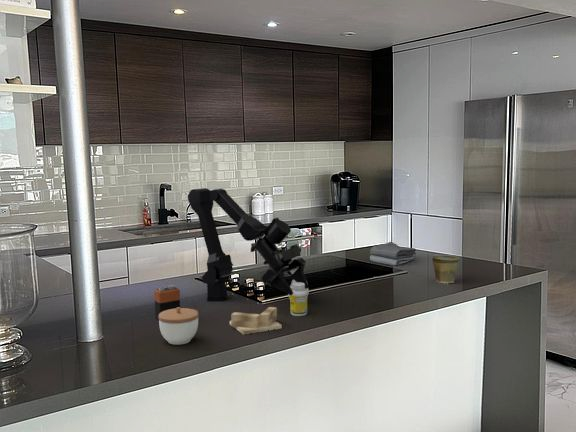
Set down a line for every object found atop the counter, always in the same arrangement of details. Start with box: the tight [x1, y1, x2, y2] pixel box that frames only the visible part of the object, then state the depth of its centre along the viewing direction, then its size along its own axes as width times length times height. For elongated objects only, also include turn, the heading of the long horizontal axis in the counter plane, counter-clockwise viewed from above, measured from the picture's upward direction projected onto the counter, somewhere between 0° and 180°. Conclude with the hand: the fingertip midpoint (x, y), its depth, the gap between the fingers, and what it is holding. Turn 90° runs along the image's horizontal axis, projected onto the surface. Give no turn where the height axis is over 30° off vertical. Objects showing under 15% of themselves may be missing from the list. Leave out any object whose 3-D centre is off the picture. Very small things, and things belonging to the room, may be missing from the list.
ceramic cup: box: [432, 254, 460, 285], centre depth 217 cm, size 13×10×10 cm
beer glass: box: [287, 279, 310, 300], centre depth 194 cm, size 7×7×15 cm
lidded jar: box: [158, 306, 199, 346], centre depth 152 cm, size 11×11×9 cm
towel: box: [369, 241, 417, 266], centre depth 257 cm, size 15×18×8 cm
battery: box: [154, 284, 181, 320], centre depth 173 cm, size 4×7×10 cm, turn 128°
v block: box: [229, 306, 283, 336], centre depth 164 cm, size 11×15×4 cm
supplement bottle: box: [289, 282, 308, 317], centre depth 176 cm, size 5×5×10 cm
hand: (300, 291), depth 175 cm, fingers open, 9 cm apart
